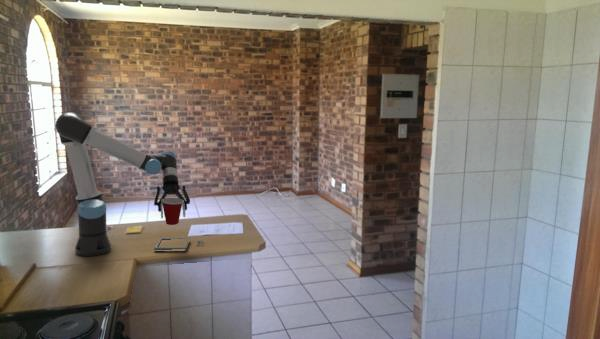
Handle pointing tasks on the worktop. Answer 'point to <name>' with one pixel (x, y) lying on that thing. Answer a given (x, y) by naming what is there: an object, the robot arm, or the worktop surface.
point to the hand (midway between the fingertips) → (173, 216)
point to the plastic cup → (172, 210)
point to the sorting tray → (170, 247)
